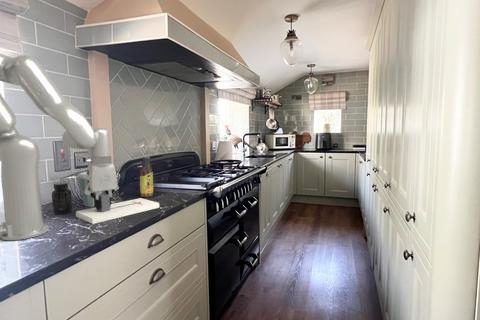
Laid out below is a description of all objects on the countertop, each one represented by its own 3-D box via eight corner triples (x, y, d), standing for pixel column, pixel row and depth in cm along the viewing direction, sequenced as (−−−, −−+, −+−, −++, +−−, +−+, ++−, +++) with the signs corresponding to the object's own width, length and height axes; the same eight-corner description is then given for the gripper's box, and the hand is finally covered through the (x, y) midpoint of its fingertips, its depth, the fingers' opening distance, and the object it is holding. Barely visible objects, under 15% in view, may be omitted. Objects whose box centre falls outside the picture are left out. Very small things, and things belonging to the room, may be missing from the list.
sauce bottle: (149, 197, 142) (147, 157, 140) (137, 197, 143) (136, 157, 141) (155, 194, 148) (154, 156, 146) (144, 194, 150) (143, 156, 148)
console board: (92, 223, 103) (92, 218, 103) (76, 216, 112) (75, 211, 111) (159, 207, 124) (159, 202, 124) (141, 202, 133) (140, 197, 133)
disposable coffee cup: (87, 209, 122) (85, 174, 120) (73, 205, 128) (71, 172, 126) (110, 203, 131) (109, 171, 129) (96, 200, 136) (95, 169, 135)
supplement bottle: (55, 211, 119) (53, 182, 118) (74, 209, 122) (72, 181, 120) (50, 215, 113) (48, 185, 112) (70, 214, 115) (68, 184, 114)
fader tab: (102, 211, 110) (101, 196, 109) (96, 209, 113) (95, 194, 112) (110, 210, 112) (109, 194, 112) (103, 207, 115) (103, 193, 115)
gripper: (82, 163, 102) (85, 214, 104) (125, 159, 115) (127, 205, 117) (73, 162, 107) (76, 210, 109) (116, 158, 119) (118, 202, 121)
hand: (103, 207), depth 113 cm, fingers closed on fader tab, 3 cm apart
